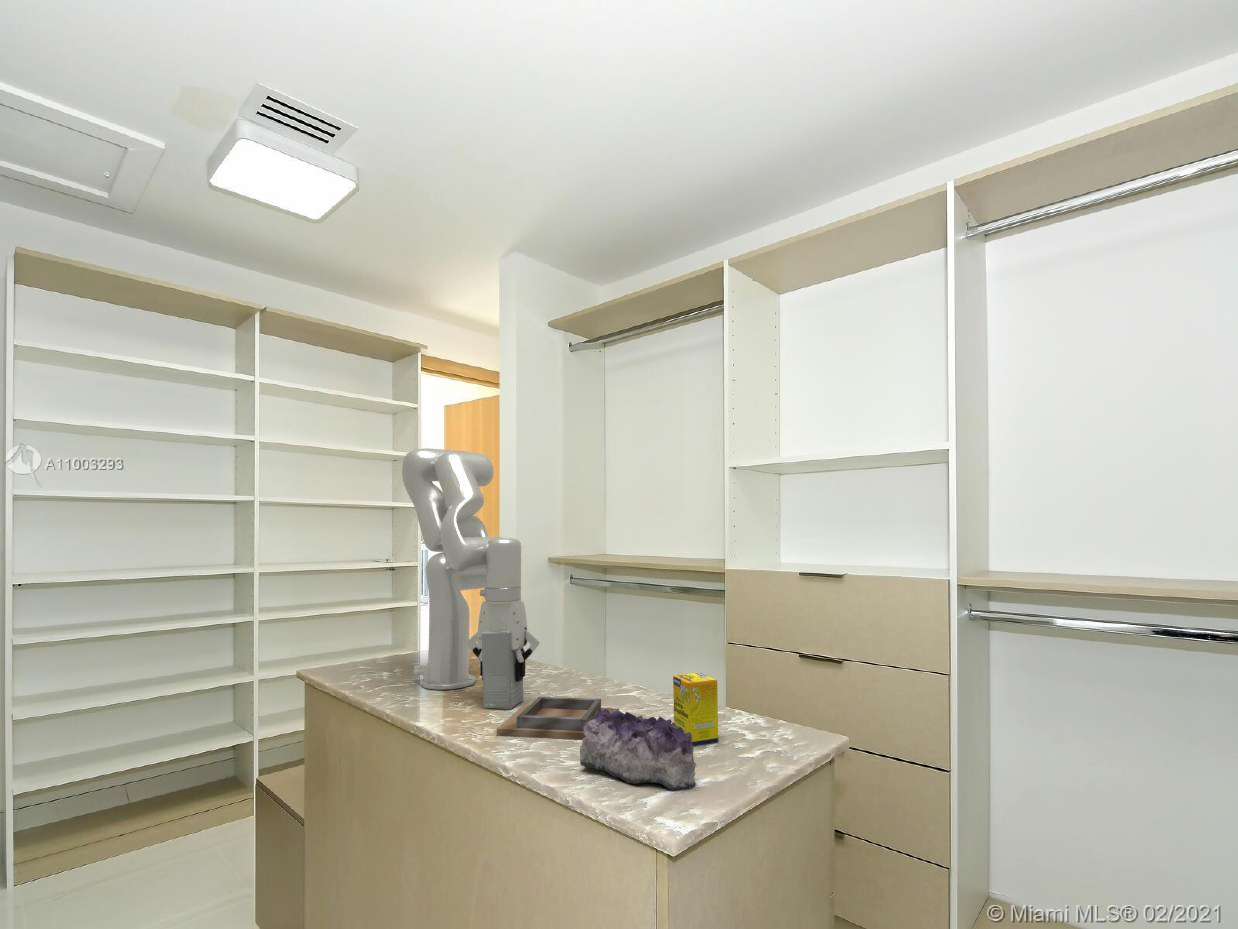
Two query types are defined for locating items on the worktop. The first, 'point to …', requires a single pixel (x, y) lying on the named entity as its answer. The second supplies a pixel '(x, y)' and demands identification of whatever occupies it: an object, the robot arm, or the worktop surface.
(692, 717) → the supplement box
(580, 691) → the worktop surface
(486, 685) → the skincare box
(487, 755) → the worktop surface
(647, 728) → the geode
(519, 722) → the board
